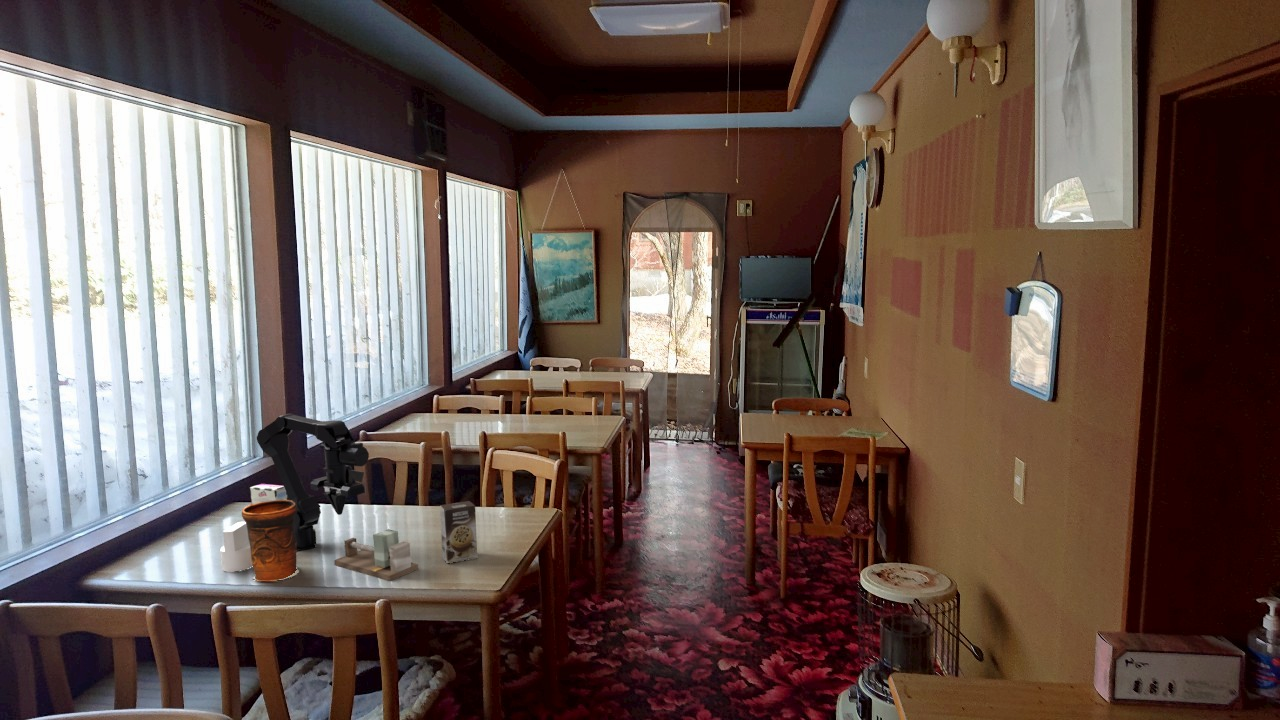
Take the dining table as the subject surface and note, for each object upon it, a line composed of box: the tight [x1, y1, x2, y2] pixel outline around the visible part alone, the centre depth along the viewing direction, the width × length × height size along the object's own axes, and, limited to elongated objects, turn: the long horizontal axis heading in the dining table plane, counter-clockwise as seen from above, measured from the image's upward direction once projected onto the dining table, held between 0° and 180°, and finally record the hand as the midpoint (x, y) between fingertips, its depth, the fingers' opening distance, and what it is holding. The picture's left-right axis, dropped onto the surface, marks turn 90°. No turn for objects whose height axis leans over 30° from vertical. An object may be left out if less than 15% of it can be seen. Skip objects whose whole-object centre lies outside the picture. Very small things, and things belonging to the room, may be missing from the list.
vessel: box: [241, 499, 298, 582], centre depth 228 cm, size 14×14×20 cm
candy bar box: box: [249, 483, 289, 505], centre depth 261 cm, size 11×5×16 cm, turn 68°
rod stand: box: [333, 537, 419, 582], centre depth 232 cm, size 24×10×8 cm, turn 57°
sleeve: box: [372, 528, 400, 568], centre depth 229 cm, size 4×5×9 cm
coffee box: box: [439, 500, 478, 564], centre depth 237 cm, size 9×6×16 cm
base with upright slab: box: [219, 521, 253, 573], centre depth 235 cm, size 9×9×12 cm
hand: (339, 514), depth 243 cm, fingers closed
